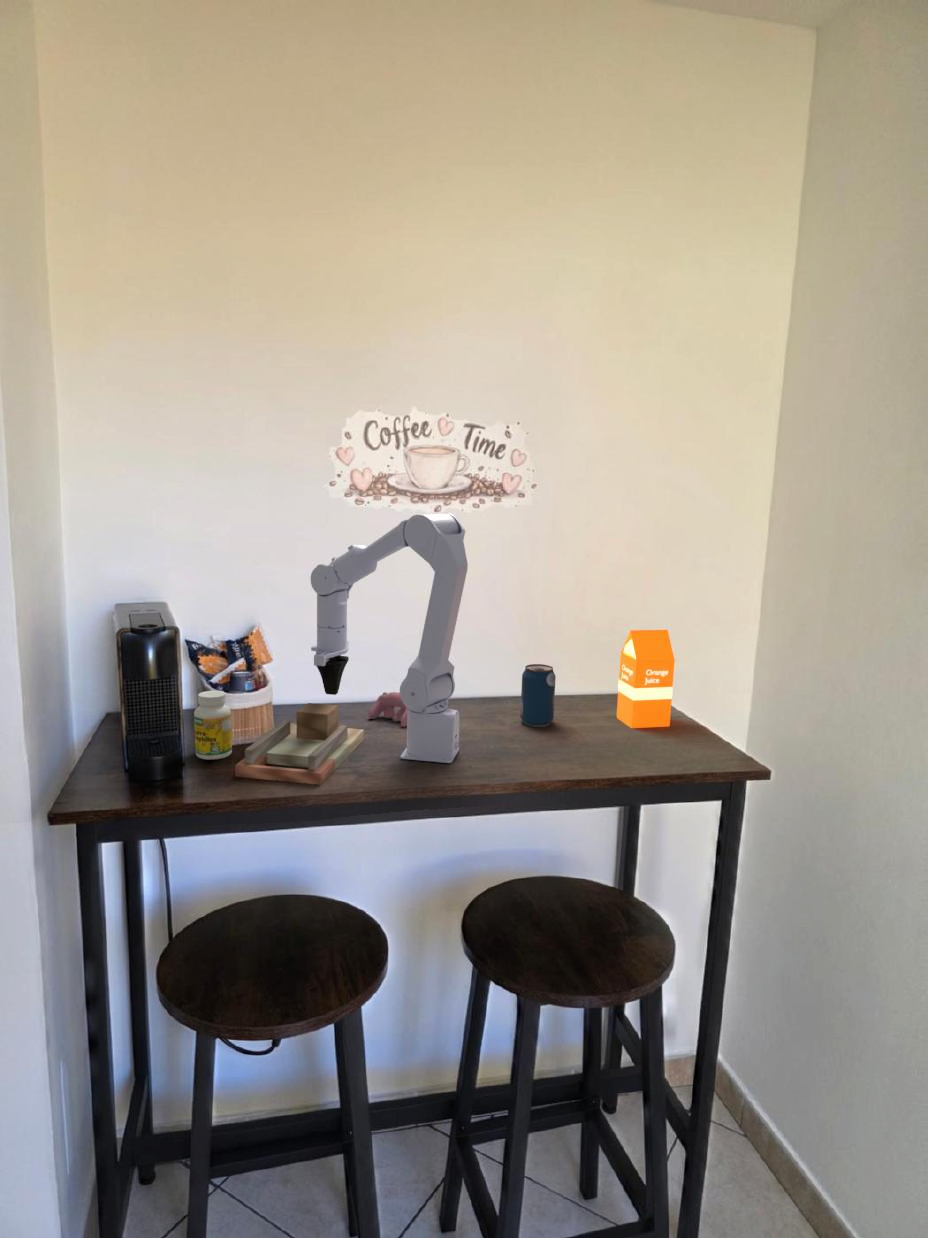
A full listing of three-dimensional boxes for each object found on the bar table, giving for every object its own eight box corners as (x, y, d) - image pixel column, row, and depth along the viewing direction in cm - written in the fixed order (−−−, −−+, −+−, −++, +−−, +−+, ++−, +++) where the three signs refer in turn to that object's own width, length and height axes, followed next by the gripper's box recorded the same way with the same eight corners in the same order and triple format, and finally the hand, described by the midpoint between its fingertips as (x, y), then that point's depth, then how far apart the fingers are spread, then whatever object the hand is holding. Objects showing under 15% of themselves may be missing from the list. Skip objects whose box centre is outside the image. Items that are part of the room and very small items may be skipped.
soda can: (560, 724, 173) (562, 669, 171) (534, 729, 169) (536, 672, 167) (538, 716, 179) (541, 662, 177) (513, 720, 175) (515, 665, 173)
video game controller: (414, 731, 171) (424, 698, 172) (403, 726, 167) (413, 693, 169) (377, 722, 176) (386, 691, 178) (364, 718, 172) (374, 685, 174)
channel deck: (363, 739, 160) (363, 717, 159) (320, 785, 137) (320, 759, 136) (290, 733, 163) (290, 710, 162) (235, 776, 139) (234, 751, 139)
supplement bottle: (238, 751, 152) (237, 691, 150) (218, 762, 146) (217, 700, 144) (208, 746, 153) (207, 687, 151) (187, 757, 147) (185, 696, 145)
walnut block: (338, 730, 158) (338, 705, 158) (327, 740, 153) (327, 714, 152) (308, 728, 159) (308, 703, 159) (296, 737, 154) (296, 711, 153)
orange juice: (670, 726, 174) (677, 633, 171) (631, 728, 172) (638, 634, 169) (652, 715, 182) (659, 626, 178) (615, 717, 180) (621, 626, 176)
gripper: (325, 617, 168) (324, 682, 171) (298, 631, 154) (298, 701, 156) (358, 620, 167) (357, 685, 169) (334, 633, 153) (334, 704, 155)
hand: (331, 693), depth 163 cm, fingers closed
